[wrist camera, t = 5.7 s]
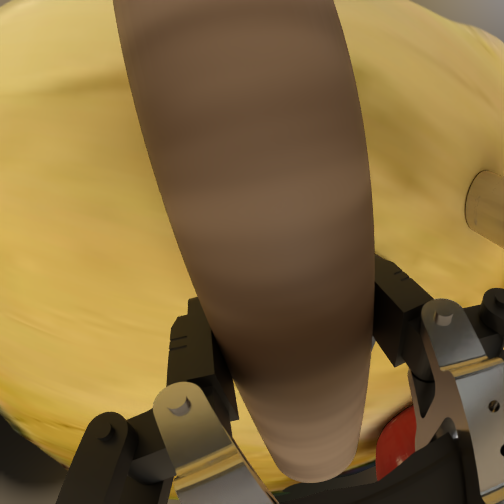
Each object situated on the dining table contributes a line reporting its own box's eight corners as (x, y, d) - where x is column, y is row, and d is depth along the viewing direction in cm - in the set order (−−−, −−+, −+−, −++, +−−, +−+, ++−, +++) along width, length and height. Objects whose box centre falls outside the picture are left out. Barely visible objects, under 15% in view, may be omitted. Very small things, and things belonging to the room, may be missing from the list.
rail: (132, 27, 6) (83, -46, 2) (281, -2, 6) (348, -75, 2) (264, 426, 15) (283, 493, 11) (339, 401, 15) (370, 462, 11)
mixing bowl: (464, 377, 55) (493, 414, 42) (401, 440, 65) (421, 476, 51) (410, 381, 46) (448, 436, 33) (334, 454, 56) (354, 502, 42)
